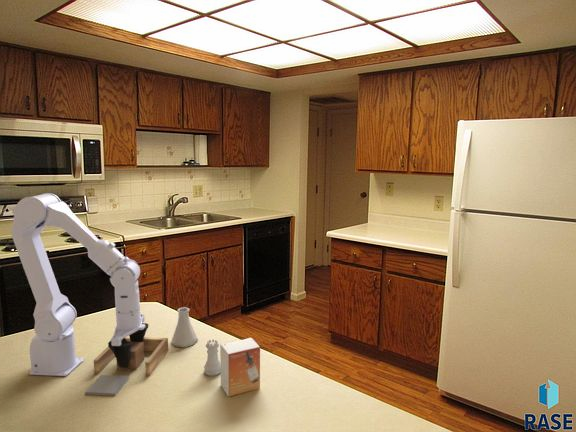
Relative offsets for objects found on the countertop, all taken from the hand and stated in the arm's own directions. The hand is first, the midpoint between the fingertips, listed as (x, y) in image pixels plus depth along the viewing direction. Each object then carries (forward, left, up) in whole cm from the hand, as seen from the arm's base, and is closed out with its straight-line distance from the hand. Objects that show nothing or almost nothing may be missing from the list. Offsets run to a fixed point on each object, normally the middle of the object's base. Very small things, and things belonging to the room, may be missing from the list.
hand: (130, 359), depth 104 cm
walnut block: (0, 0, -2) cm, 2 cm away
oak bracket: (0, +1, -1) cm, 2 cm away
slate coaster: (-1, -10, -1) cm, 10 cm away
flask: (+10, +13, -2) cm, 16 cm away
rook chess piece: (+22, -2, -2) cm, 22 cm away
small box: (+30, -8, -2) cm, 31 cm away
